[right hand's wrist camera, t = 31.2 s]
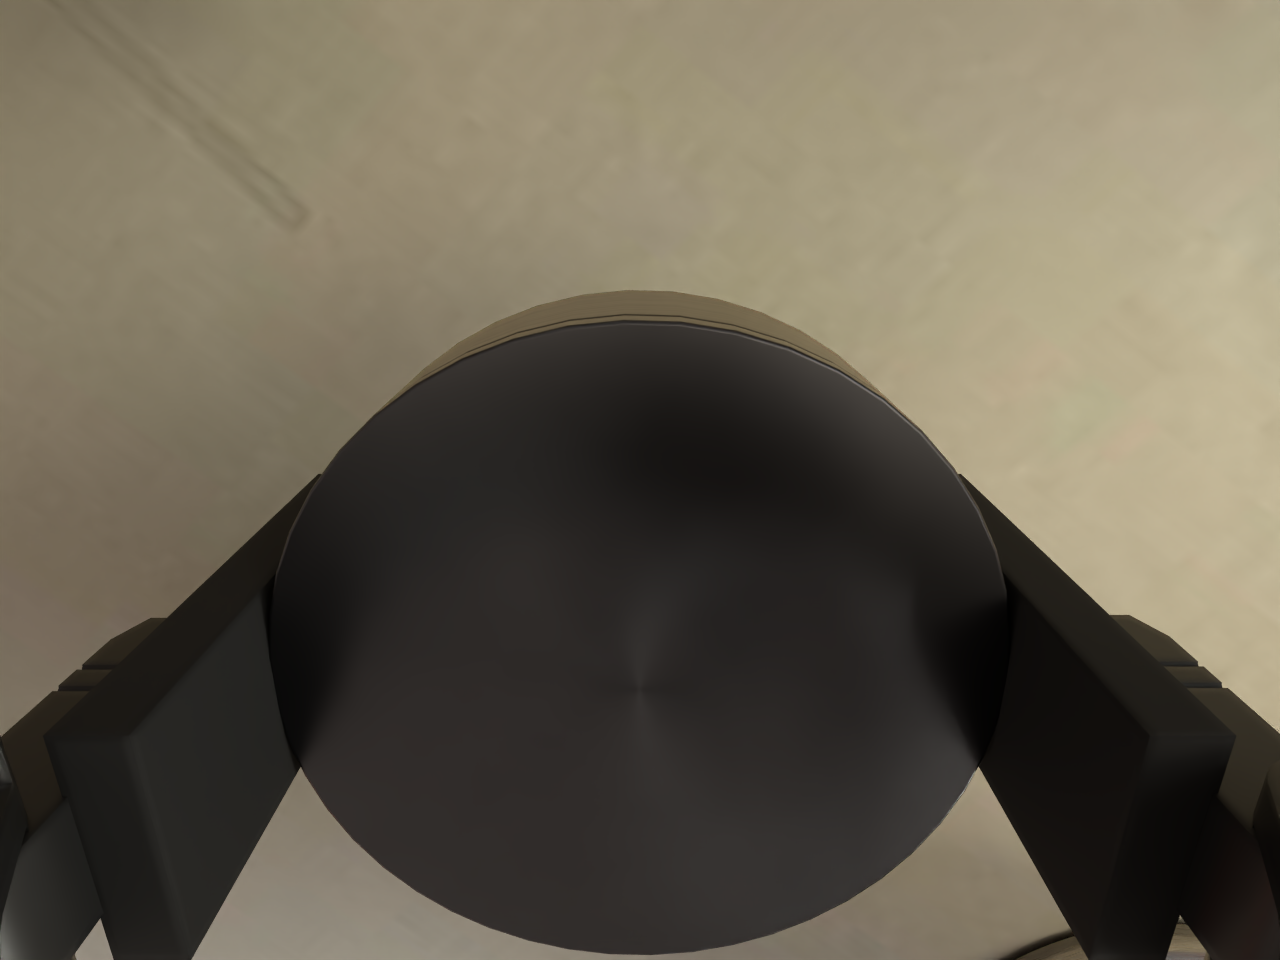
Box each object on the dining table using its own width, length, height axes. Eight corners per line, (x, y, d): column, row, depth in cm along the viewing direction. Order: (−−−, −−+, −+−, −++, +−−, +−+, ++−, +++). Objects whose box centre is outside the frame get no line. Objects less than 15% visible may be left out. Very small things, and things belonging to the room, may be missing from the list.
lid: (652, 915, 14) (655, 1046, 12) (214, 611, 12) (123, 705, 10) (1070, 583, 12) (1163, 673, 10) (620, 132, 10) (615, 122, 8)
